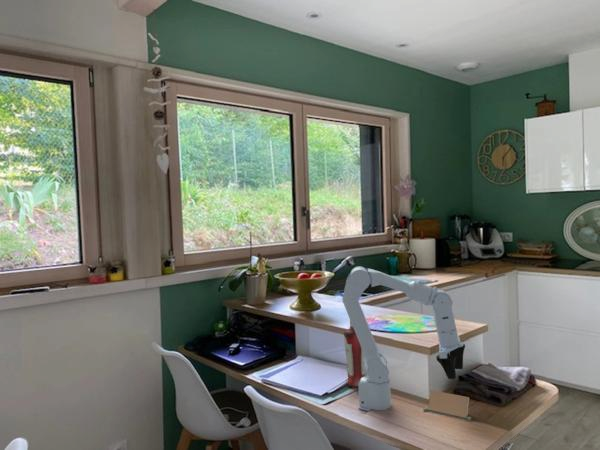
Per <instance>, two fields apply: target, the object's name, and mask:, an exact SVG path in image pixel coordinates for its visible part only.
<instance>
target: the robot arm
mask: <svg viewBox="0 0 600 450" xmlns="http://www.w3.org/2000/svg"><path fill="white" fill-rule="evenodd" d="M370 285H371V288H373V287H376V286H384V287H387V288H389V289H393V290H395V291H400V292H401V293H404V294H405V296H406V297H407V299H408V300H412V301H414V302H417V303H420V304H423V305H425V306H431V307H432V311H433V315H434V316H433V318H434V319H433V320H434V324H435V328H436V333H437V339H438V343H439V345H438V347H439V348H438V349H439V351H438V354H437V356H436V357H435V358H436V361H437V362H438V363H439V364H440V366H441V367H442V368H443V371H444V373H445V376H446V377H447V379H448V380H455V379H457V378H456V375H457V374H456V373H457V372H456V370H463V369H464V352H465V348H466V344H464V342H461V337H460V336H459V335H458V331H457V324H456V320H455V316H454V313H453V308H452V307H453V302H454V301H453V300H452V298H451V296H450V295H449V294H448V293H447V292H446V291H444V290H442V288H438V287H437V286H433V287H432V286H430V285H427V284H424V283H423V281H422V280H419V279H418V280H417V281H416V280H413V281H410V282H407V281H404V280H401V279H399V278H396V277H394V276H392V275H390V274H387V273H385V272H382V271H379V270H375V269H372V268H366V267H364V266H361V265H360V266H355V267H354V268H352V269H351V270H350V273H348V276H347V278H346V281H345V285H344V291H343V294H342V304H343V306H344V308H345V311H346V313H347V315H348V317H349V322H350V321H351V323H352V326H353V328H354V331H355V333H356V335H357V338H358V340H359V343H360V345H361V348H362V350H363V353H364V356H365V364H366V365H367V375H366V376H365V377H362V378H361V380H360V382H359V388H357V389H358V405H359V406H358V407H357V408H358V409H359V410H363V411H367V412H370V411H371V410H377V411H384V410H388V409H390V408H391V407H392V398H391V396H392V395H391V394H392V393H391V377H390V376H389V375H390V372H389V369H388V361H387V358H386V357H385V356H384V355H383V354H381V352H380V349H379V347H378V345H377V343H376V341H375V337H374V336H373V334H372V331H371V329H370V326H369V323H368V321H367V318H366V316H365V313H364V311H363V309H362V306H361V304H360V301H359V300H360V298H361V296H362V294H363V293H364V291H365V290H366V289H367V288H369V286H370Z"/></svg>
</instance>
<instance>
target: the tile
mask: <svg viewBox="0 0 600 450" xmlns="http://www.w3.org/2000/svg"><path fill="white" fill-rule="evenodd" d="M469 402H470V397H469V396H463V395H460V394H453V393H447V392H443V391H437V390H433V389H430V395H429V402H428V407H427V408H428V410H427V413H428V412H429V413H432V414H433V413H434V414H438V415H442V416H447V417H452V418H456V419H462V420H464V421H465V420H466V421H467V417H468V415H467V413H468V414H469Z"/></svg>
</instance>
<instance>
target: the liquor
mask: <svg viewBox="0 0 600 450" xmlns="http://www.w3.org/2000/svg"><path fill="white" fill-rule="evenodd" d="M343 338H344V349H345V351H344V352H345V360H346V371H347V372H346V373H347V380H348V383H347V384H348V385H349V386H350V387H351V386H352V387H351V388H353V387H357V388H356V389H358V387H359V382H360V380H361V378H362V377H366V374H365V372H366V371H365V370H366V369H365V367H366V366H365V364H366V360H365V356H364V353H363V350H362V348H361V345H360V343H359V340H358V338H357V335H356V333H355V331H354V328H353V326H352V323H351V321H350V320H349V328H347V329H345V331H343Z"/></svg>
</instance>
